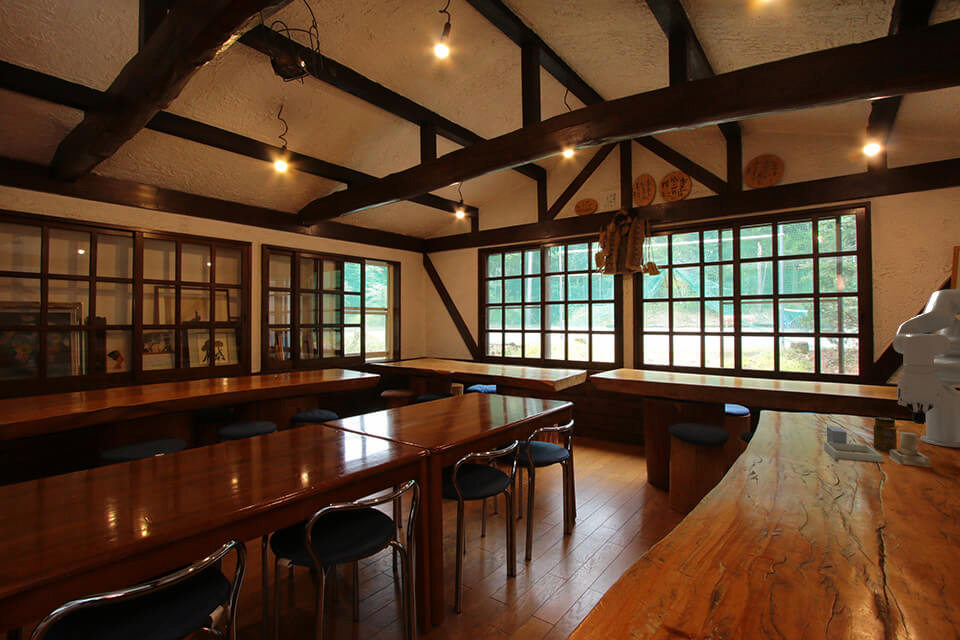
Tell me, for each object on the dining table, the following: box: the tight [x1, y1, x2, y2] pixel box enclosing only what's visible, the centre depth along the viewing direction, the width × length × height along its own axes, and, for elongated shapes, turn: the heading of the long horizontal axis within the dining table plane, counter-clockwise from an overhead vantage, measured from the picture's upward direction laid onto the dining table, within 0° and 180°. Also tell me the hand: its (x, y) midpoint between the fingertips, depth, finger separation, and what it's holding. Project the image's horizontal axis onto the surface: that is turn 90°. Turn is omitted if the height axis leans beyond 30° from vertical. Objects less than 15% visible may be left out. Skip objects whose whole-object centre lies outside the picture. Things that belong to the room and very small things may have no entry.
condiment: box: [872, 416, 898, 453], centre depth 154 cm, size 7×8×12 cm
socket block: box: [887, 449, 932, 468], centre depth 141 cm, size 8×8×4 cm
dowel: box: [899, 431, 919, 457], centre depth 141 cm, size 4×4×9 cm
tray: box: [823, 441, 884, 463], centre depth 150 cm, size 12×12×3 cm
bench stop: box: [826, 425, 848, 444], centre depth 160 cm, size 4×7×7 cm, turn 155°
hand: (918, 423), depth 149 cm, fingers closed
